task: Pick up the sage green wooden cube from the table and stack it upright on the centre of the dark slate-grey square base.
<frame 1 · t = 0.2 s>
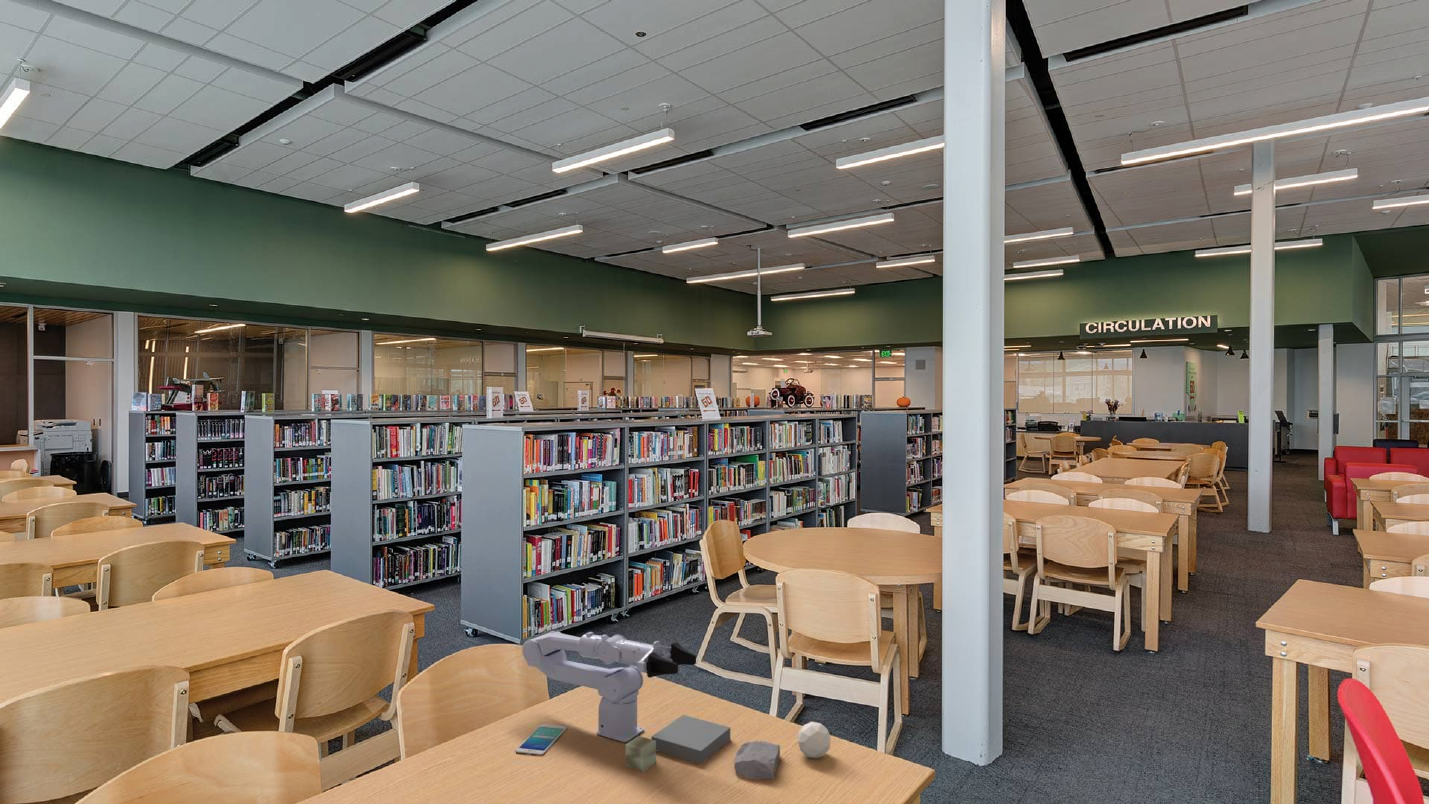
hand: (686, 664, 168), 21 cm above the table, tool horizontal, fingers open, 7 cm apart
stone block: (756, 767, 163), on the table
stacking base: (691, 744, 173), on the table
sage green cube: (640, 764, 163), on the table
geometric ball: (814, 756, 167), on the table
smartphone: (541, 742, 175), on the table
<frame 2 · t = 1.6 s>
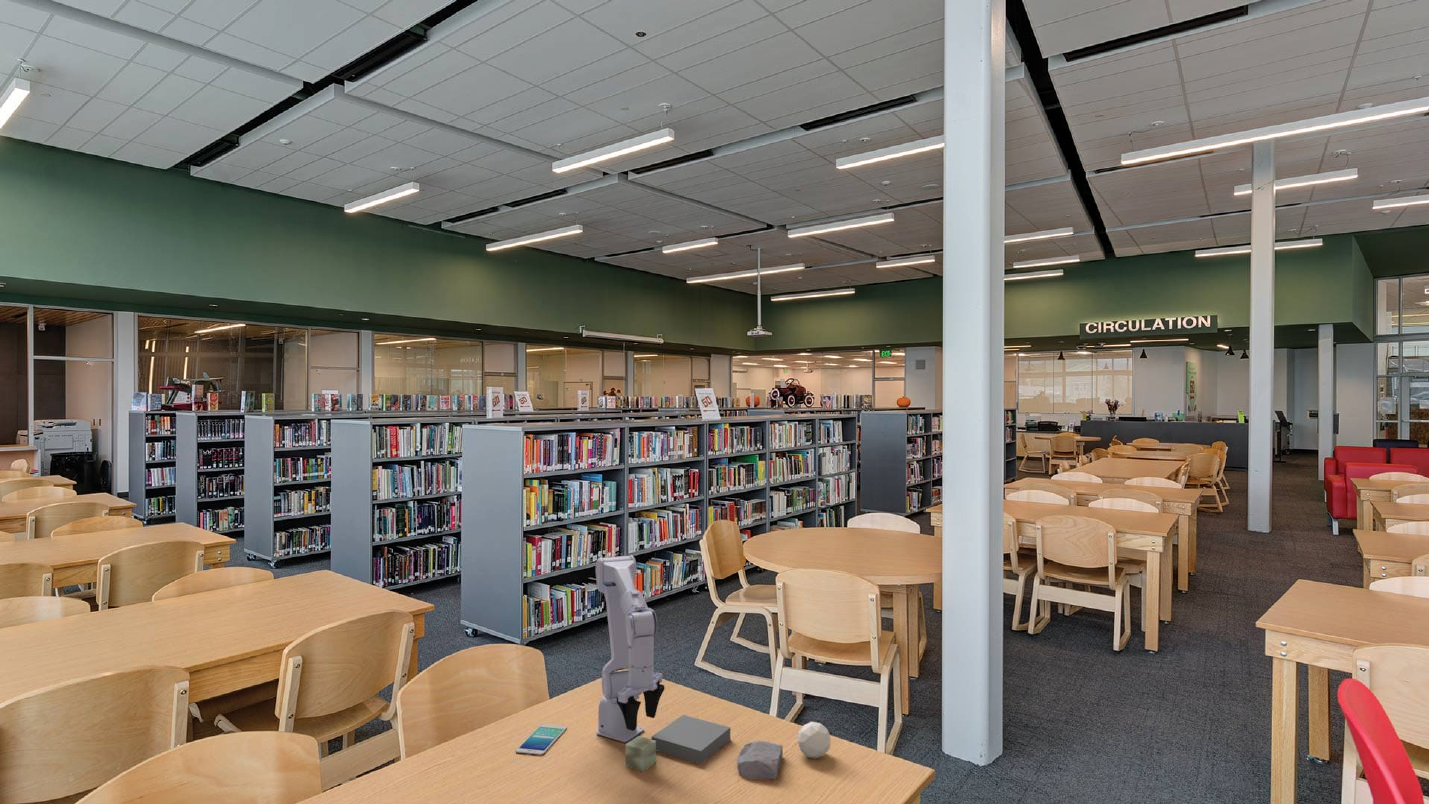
hand: (641, 722, 163), 9 cm above the table, tool pointing down, fingers open, 7 cm apart
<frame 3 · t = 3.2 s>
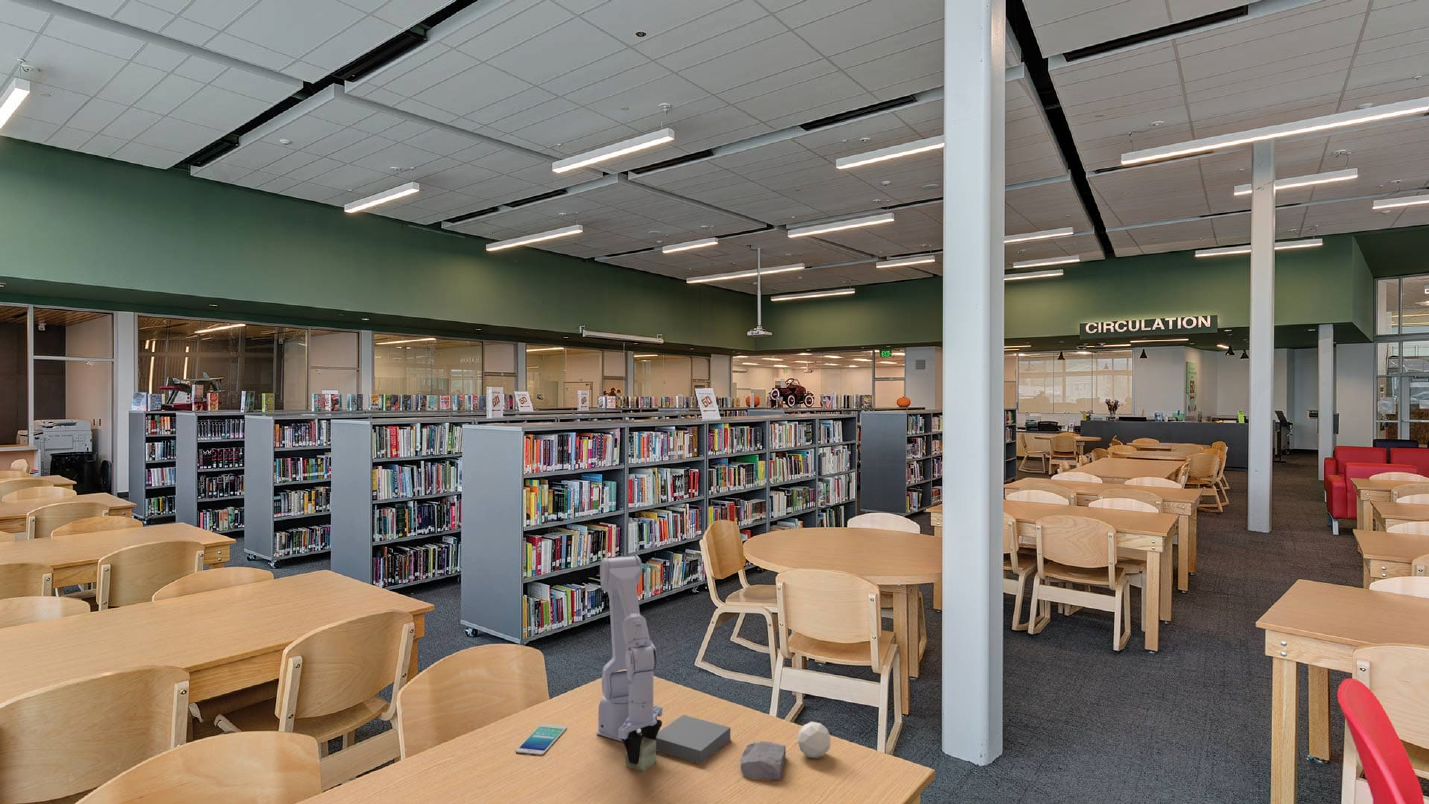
hand: (640, 757, 163), 1 cm above the table, tool pointing down, fingers closed on sage green cube, 5 cm apart
sage green cube: (640, 763, 163), on the table, touching gripper
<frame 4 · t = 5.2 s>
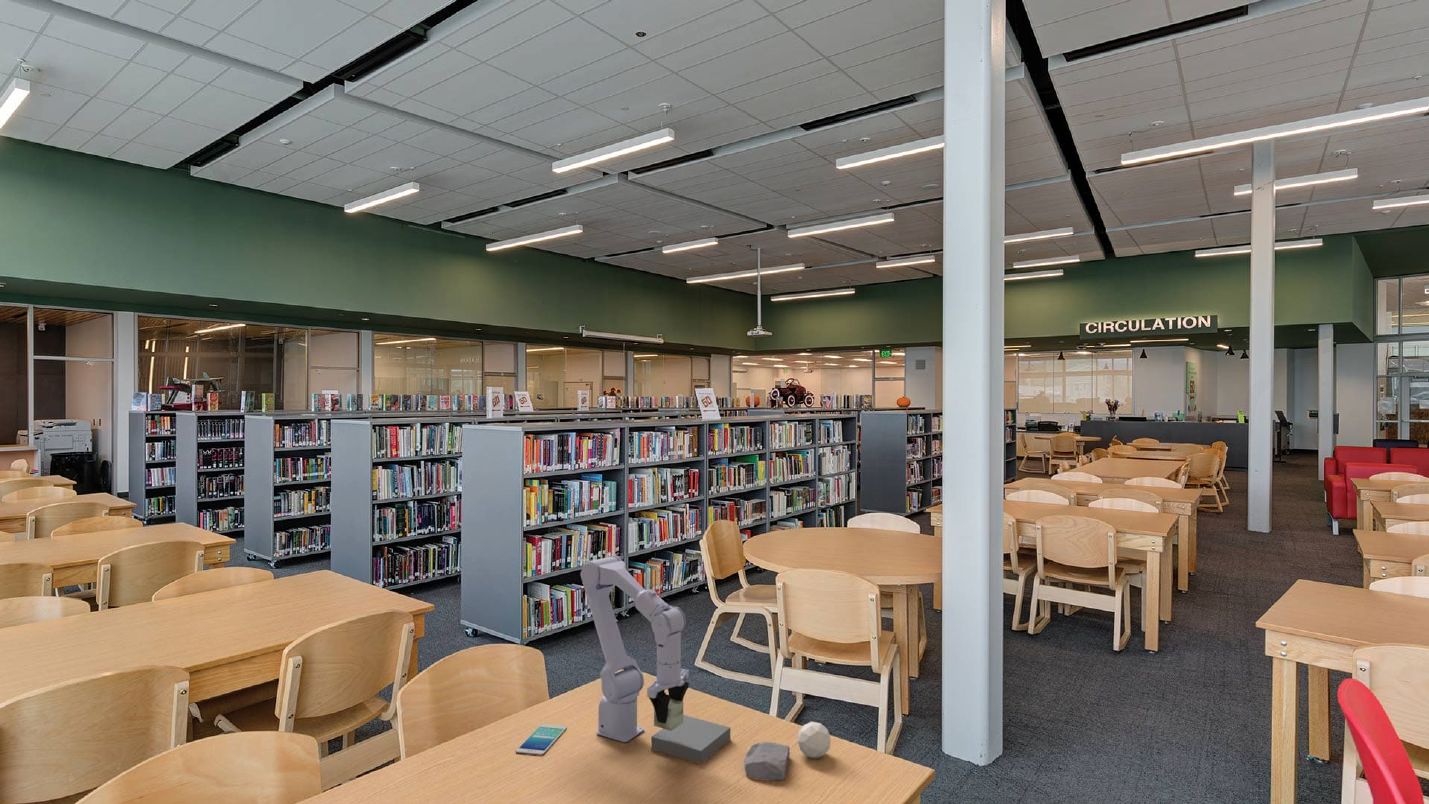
hand: (668, 717, 168), 8 cm above the table, tool pointing down, fingers closed on sage green cube, 5 cm apart
sage green cube: (668, 724, 168), point 7 cm above the table, touching gripper
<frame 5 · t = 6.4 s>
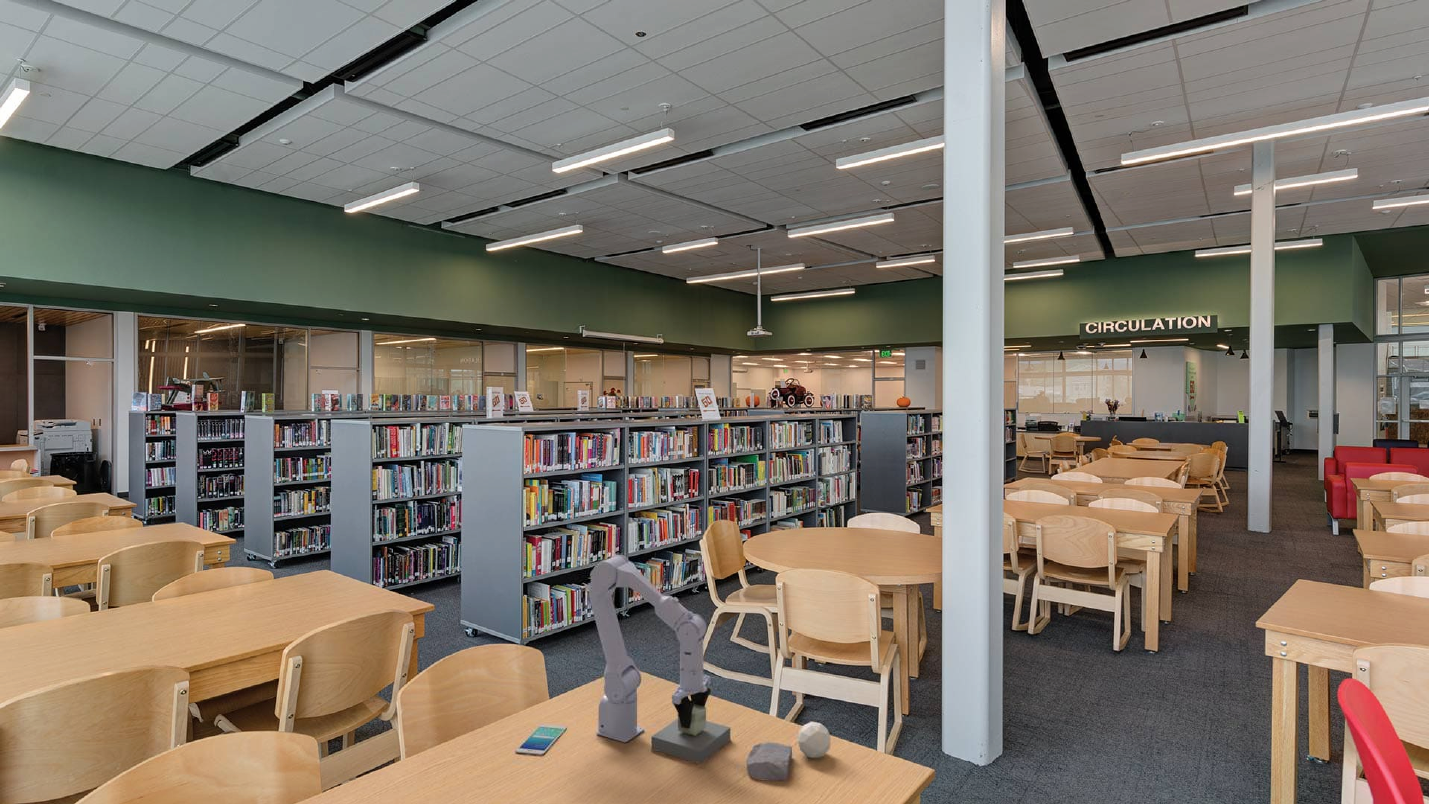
hand: (691, 722, 173), 5 cm above the table, tool pointing down, fingers closed on sage green cube, 5 cm apart
sage green cube: (692, 729, 173), point 4 cm above the table, touching gripper
when the fingers open (5 cm above the table, at t = 7.4 s): sage green cube stays where it is, resting on stacking base.
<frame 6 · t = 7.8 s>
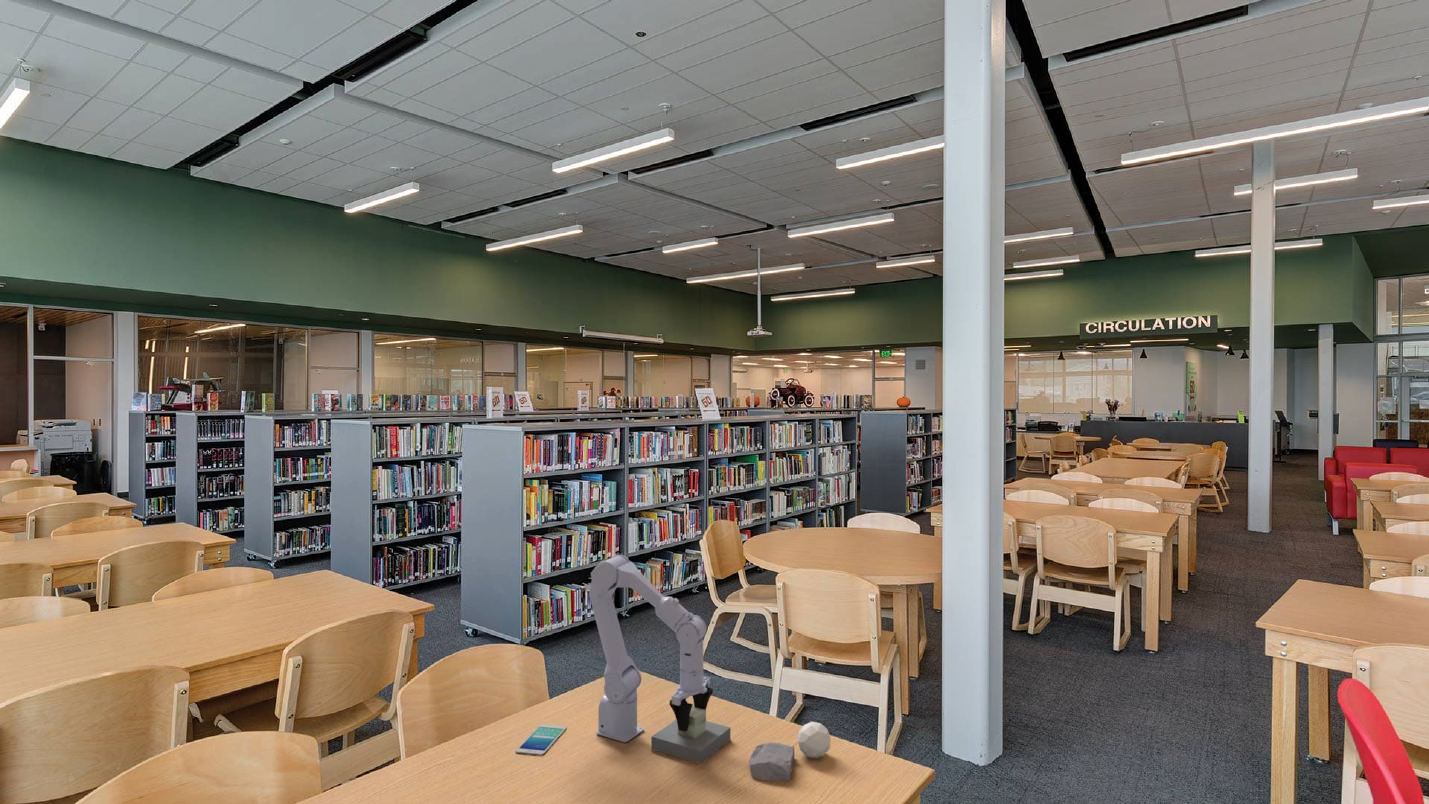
hand: (691, 724, 173), 5 cm above the table, tool pointing down, fingers open, 7 cm apart
sage green cube: (691, 732, 173), point 3 cm above the table, touching stacking base
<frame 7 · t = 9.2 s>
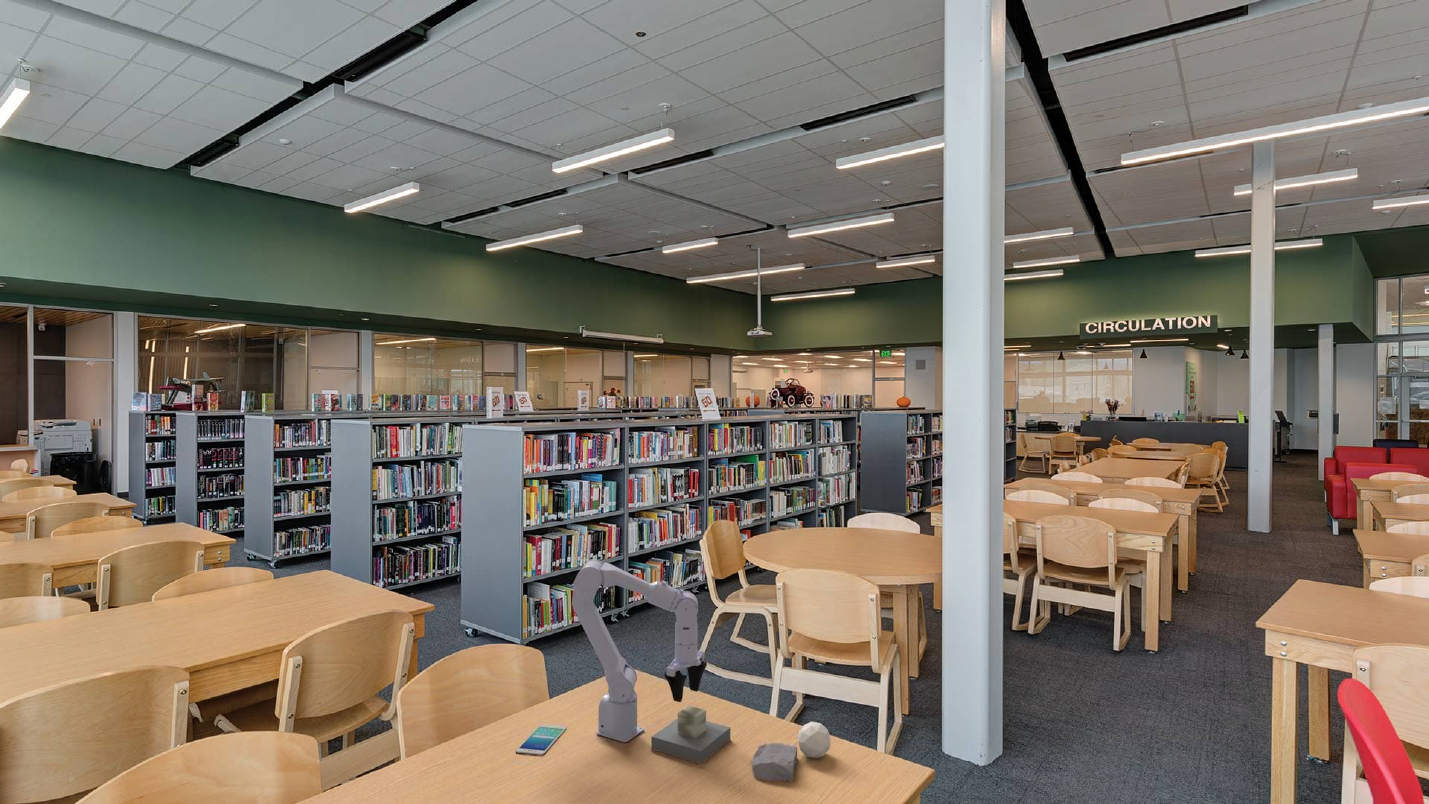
hand: (686, 695, 179), 9 cm above the table, tool pointing down, fingers open, 7 cm apart
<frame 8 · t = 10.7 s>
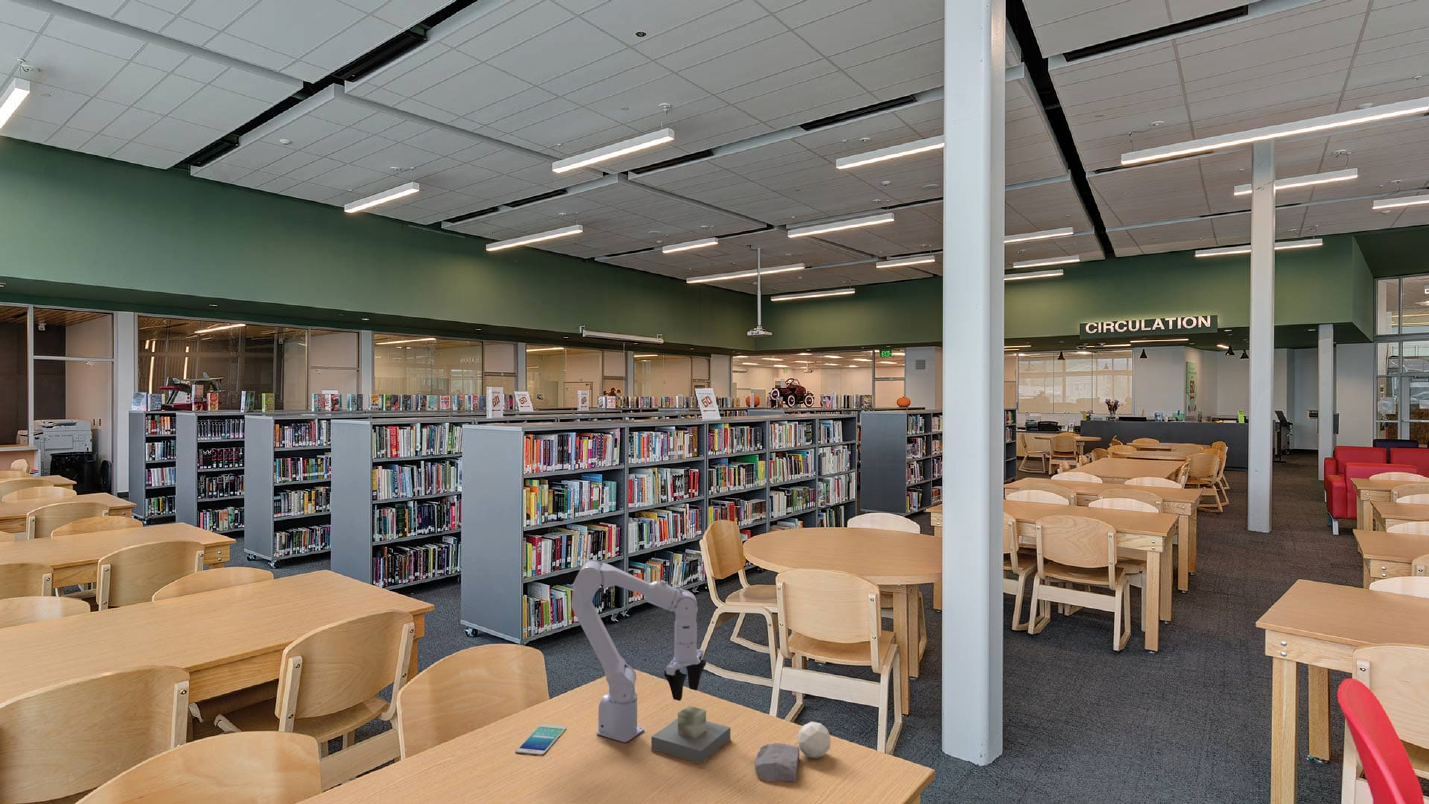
hand: (685, 694, 180), 9 cm above the table, tool pointing down, fingers open, 7 cm apart
stone block: (776, 769, 162), on the table, touching geometric ball
geometric ball: (814, 756, 167), on the table, touching stone block
everything else where it was.
at the end: sage green cube inside the target area on the stacking base (0.1 cm from its centre), point 3.0 cm above the stacking base's base; sage green cube tilted 0°; the gripper is holding nothing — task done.
